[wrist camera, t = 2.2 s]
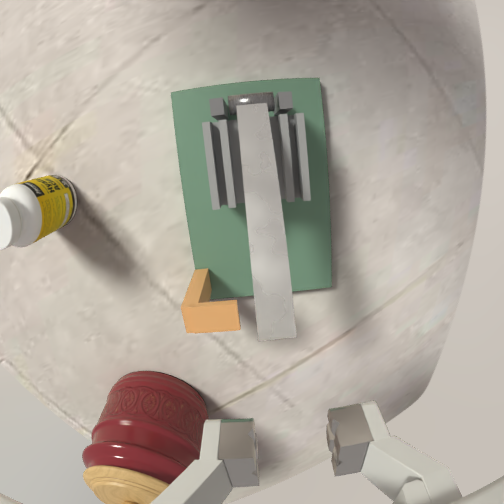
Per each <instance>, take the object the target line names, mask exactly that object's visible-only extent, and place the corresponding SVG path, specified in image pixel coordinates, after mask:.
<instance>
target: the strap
mask: <svg viewBox="0 0 504 504" xmlns="http://www.w3.org/2000/svg"><path fill="white" fill-rule="evenodd" d="M228 106H229V113H230V115H237V119H238V130H239V141H240V152H241V163H242V174H243V184H244V195H245V206H246V217H247V227H248V238H249V249H250V259H251V270H252V280H253V291H254V302H255V312H256V323H257V333H258V341H267V340H277V339H286V338H295V337H297V334H296V324H295V314H294V305H293V295H292V286H291V277H290V268H289V260H288V251H287V243H286V235H285V227H284V219H283V211H282V203H281V196H280V188H279V181H278V174H277V167H276V160H275V153H274V146H273V139H272V133H271V126H270V120H269V113H268V112H271V111H275V102H274V95H273V92H261V93H249V94H240V95H231V96H228Z"/></svg>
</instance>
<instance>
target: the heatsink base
mask: <svg viewBox="0 0 504 504" xmlns="http://www.w3.org/2000/svg"><path fill="white" fill-rule="evenodd" d="M261 92H273V95H274V102H275V111H271V112H268V113H269V120H270V126H271V133H272V139H273V146H274V153H275V160H276V167H277V174H278V181H279V188H280V196H281V203H282V211H283V219H284V227H285V235H286V243H287V251H288V260H289V268H290V277H291V286H292V292H293V291H302V290H311V289H320V288H328V287H332V272H331V222H330V198H329V179H328V164H327V150H326V137H325V126H324V115H323V106H322V96H321V87H320V79H319V78H293V79H274V80H260V81H249V82H239V83H230V84H222V85H214V86H207V87H200V88H194V89H188V90H182V91H176V92H171V98H172V108H173V118H174V126H175V135H176V143H177V152H178V159H179V167H180V175H181V182H182V189H183V196H184V203H185V209H186V216H187V222H188V229H189V235H190V241H191V247H192V253H193V259H194V264H195V270H196V269H207V268H208V270H209V277H210V283H211V288H212V292H211V296H210V299H221V298H233V297H244V296H254V291H253V280H252V270H251V259H250V249H249V238H248V227H247V217H246V206H245V195H244V184H243V174H242V163H241V152H240V141H239V130H238V119H237V115H230V113H229V106H228V96H231V95H240V94H249V93H261Z"/></svg>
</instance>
